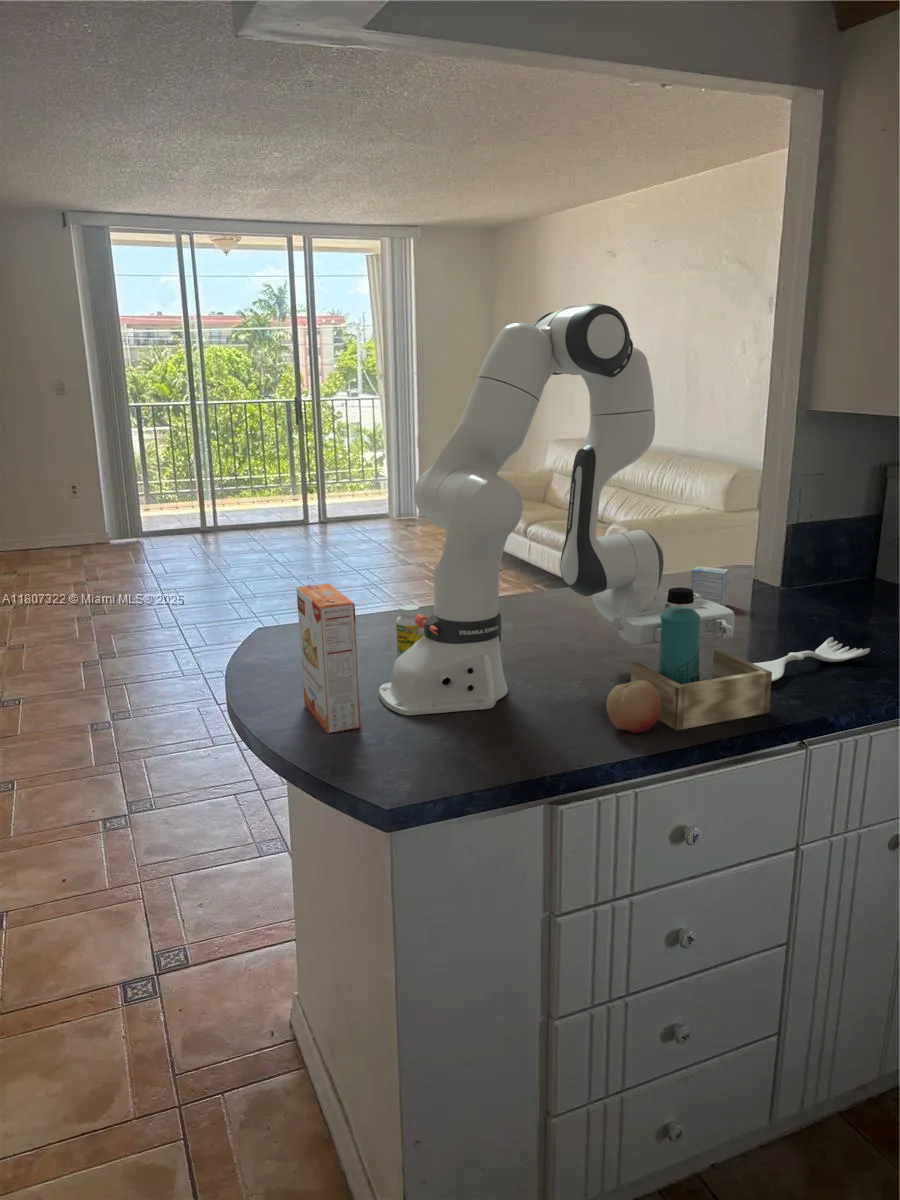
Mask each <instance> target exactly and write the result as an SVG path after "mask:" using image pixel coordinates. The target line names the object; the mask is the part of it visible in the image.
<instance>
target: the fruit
mask: <svg viewBox="0 0 900 1200" xmlns="http://www.w3.org/2000/svg"><path fill="white" fill-rule="evenodd" d="M605 704H606V713H607V715H608V718H609V719H610V722H611V723H612V724H613V725H614V727H616V728H617V729H619V730H621V731H628V732H631V733H635V734H636V733H644V732H646V731H648V730H650V729H651V728H652V727H654V725H656V724H657V722H658V721H659V720H658V718H659V716H660V712H661V699H660V696H659V694H658V692H657V690H656V689H655V687H654V686H653V685H652V684H650V683H649V682H647V681H644V680H639V681H634V682H631V681H630V682H626V683H622V684H621V683H620V684H617V685H616V686H614V687H613V688H612V689H611V690H610V692H609V693H608V695H607V700H606V703H605Z"/></svg>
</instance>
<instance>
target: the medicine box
mask: <svg viewBox="0 0 900 1200" xmlns="http://www.w3.org/2000/svg"><path fill="white" fill-rule="evenodd" d="M690 572H691V573H690V587H689V588H690V589H692V590H693V593H696V594H699V595H701V596H702V600H708V601H712V602H715V603H717V604H720V605H722V606H724V607H726V606H727V605H728V602H729V601H728V598H729V584H730V583H729V582H730V569H727V568H719V567H709V566H708V567H707V566H696V567H694V568H692V569H691V571H690Z"/></svg>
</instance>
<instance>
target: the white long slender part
mask: <svg viewBox="0 0 900 1200" xmlns="http://www.w3.org/2000/svg"><path fill="white" fill-rule="evenodd" d="M838 643H839V641H838V640H834V637H833V636H831V637H829V638H827V639H826V640H825V641H824V642H823V643H822V644H821V645H820V646H819V647H817V648H816V649H815V650H814V651H812V650H804V651H799V652H788V653H787V655H786V656H783V657H780V658H778V659H774V660H768V661H763V662H753V663H752V662H751V663H752V664H755V665H757V666H759V667H762V668H764V669H766V670H769V671H771V672H772V680H771V683H772V682H775V681H777V680H779V679H781V678H782V677H783V675H784V674H785V666H786V664H787V663H788V662H790V661H795V660H796V661H797V660H798V661H801V660H804V659H805V658H808V657H811V658H815V659H817V660H820V661H823V662H827V663H828V662H829V663H836V662H839V663H840V662H844V661H846V660H850V659H854V658H858V657H862V656H865V655H867V654H868V653H870V651H871V648H870V647H868V648H864V649H863V648H859V649H858V648H857V647H854V648H853V649H850V646H846V647H843V648H842V646H843V643H839V644H838ZM849 649H850V650H849Z"/></svg>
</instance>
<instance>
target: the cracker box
mask: <svg viewBox="0 0 900 1200" xmlns="http://www.w3.org/2000/svg"><path fill="white" fill-rule="evenodd" d="M296 601H297V613H298V627H299V630H298V632H299V643H300V655H301V656H300V659H301V671H302V673H301V674H302V683H303V684H302V687H303V689H302V690H303V699H304V702H303V703H304V705H305V706H306V708H307V709H308V710H309V712H310V711H311V712H310V713H311V714H312V716H313V715H314V716H313V717H314V718H315V719H316V721H317V720H318V721H317V722H318V724H319V725H320V726H321V727H322V729H323V728H324V729H325V730H324V729H323V730H324V732H325V733H326V732H327V733H330V732H337V733H339V732H338V731H342V732H345V731H344V730H347V731H351V730H350V729H353V730H358V729H362V723H361V722H362V721H361V708H360V707H361V706H360V687H359V686H360V685H359V666H358V665H359V662H358V645H357V644H358V643H357V624H356V623H357V622H356V621H357V620H356V605H355V602H354V601H352V600H350V598H348V597H347V596H346V595H344V594H343V593H342V592H341V591H339V590H338V589H336V588H335V587H334V586H332V585H331V584H330V583H320V584H309V585H302V586H298V587H296ZM357 728H358V729H357ZM327 733H326V734H327Z"/></svg>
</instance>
